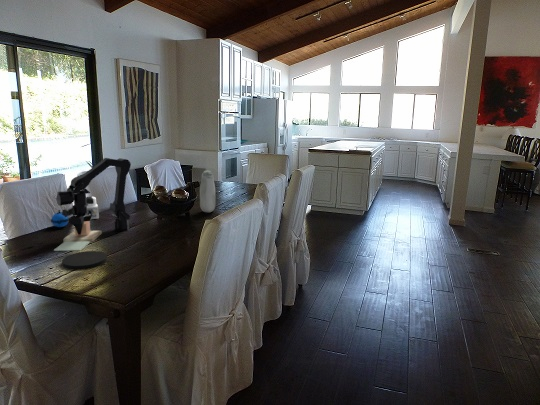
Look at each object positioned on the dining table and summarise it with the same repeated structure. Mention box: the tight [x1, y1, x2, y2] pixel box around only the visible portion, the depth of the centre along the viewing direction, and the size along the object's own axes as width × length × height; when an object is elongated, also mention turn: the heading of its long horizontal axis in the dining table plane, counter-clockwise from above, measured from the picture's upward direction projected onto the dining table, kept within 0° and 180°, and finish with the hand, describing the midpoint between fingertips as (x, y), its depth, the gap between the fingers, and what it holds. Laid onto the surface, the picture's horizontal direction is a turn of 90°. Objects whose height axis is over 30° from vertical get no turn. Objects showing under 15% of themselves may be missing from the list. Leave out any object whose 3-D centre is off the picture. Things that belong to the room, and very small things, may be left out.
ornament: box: [50, 209, 70, 228], centre depth 216 cm, size 9×9×10 cm
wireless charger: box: [61, 250, 108, 271], centre depth 169 cm, size 18×18×2 cm
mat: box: [53, 241, 91, 252], centre depth 187 cm, size 12×12×1 cm
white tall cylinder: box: [199, 169, 216, 213], centre depth 255 cm, size 10×10×28 cm
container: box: [86, 196, 100, 220], centre depth 236 cm, size 8×8×13 cm
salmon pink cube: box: [74, 221, 92, 235], centre depth 199 cm, size 6×6×6 cm
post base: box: [63, 230, 103, 243], centre depth 200 cm, size 14×14×7 cm
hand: (82, 231), depth 200 cm, fingers open, 9 cm apart
